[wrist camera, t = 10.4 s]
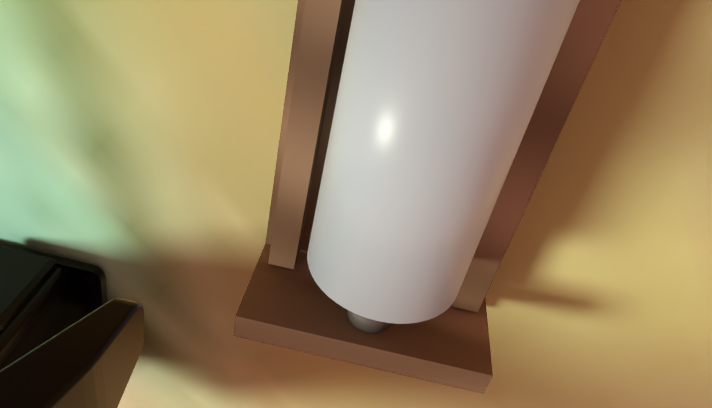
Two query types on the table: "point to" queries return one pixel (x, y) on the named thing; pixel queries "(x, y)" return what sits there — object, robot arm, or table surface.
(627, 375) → the table surface
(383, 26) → the cylinder
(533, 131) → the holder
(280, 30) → the table surface
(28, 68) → the table surface
